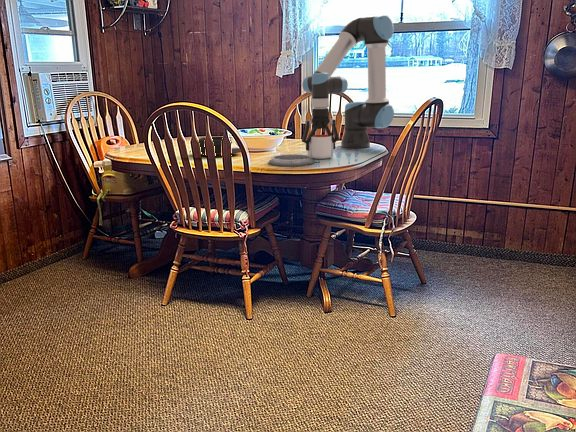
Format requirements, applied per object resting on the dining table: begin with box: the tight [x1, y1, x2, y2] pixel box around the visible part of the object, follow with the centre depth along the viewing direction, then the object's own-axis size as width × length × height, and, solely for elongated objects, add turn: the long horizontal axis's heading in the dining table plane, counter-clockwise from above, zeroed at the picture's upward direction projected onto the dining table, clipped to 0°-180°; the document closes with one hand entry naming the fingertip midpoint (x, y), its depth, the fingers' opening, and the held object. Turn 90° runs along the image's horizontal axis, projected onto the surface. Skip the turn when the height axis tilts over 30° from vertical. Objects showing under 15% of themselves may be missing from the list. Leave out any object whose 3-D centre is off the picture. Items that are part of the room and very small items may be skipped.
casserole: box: [189, 136, 241, 157], centre depth 267 cm, size 25×19×8 cm
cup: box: [310, 134, 332, 160], centre depth 252 cm, size 10×10×10 cm
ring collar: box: [268, 153, 315, 168], centre depth 242 cm, size 20×20×2 cm
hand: (320, 156), depth 254 cm, fingers closed on cup, 10 cm apart
